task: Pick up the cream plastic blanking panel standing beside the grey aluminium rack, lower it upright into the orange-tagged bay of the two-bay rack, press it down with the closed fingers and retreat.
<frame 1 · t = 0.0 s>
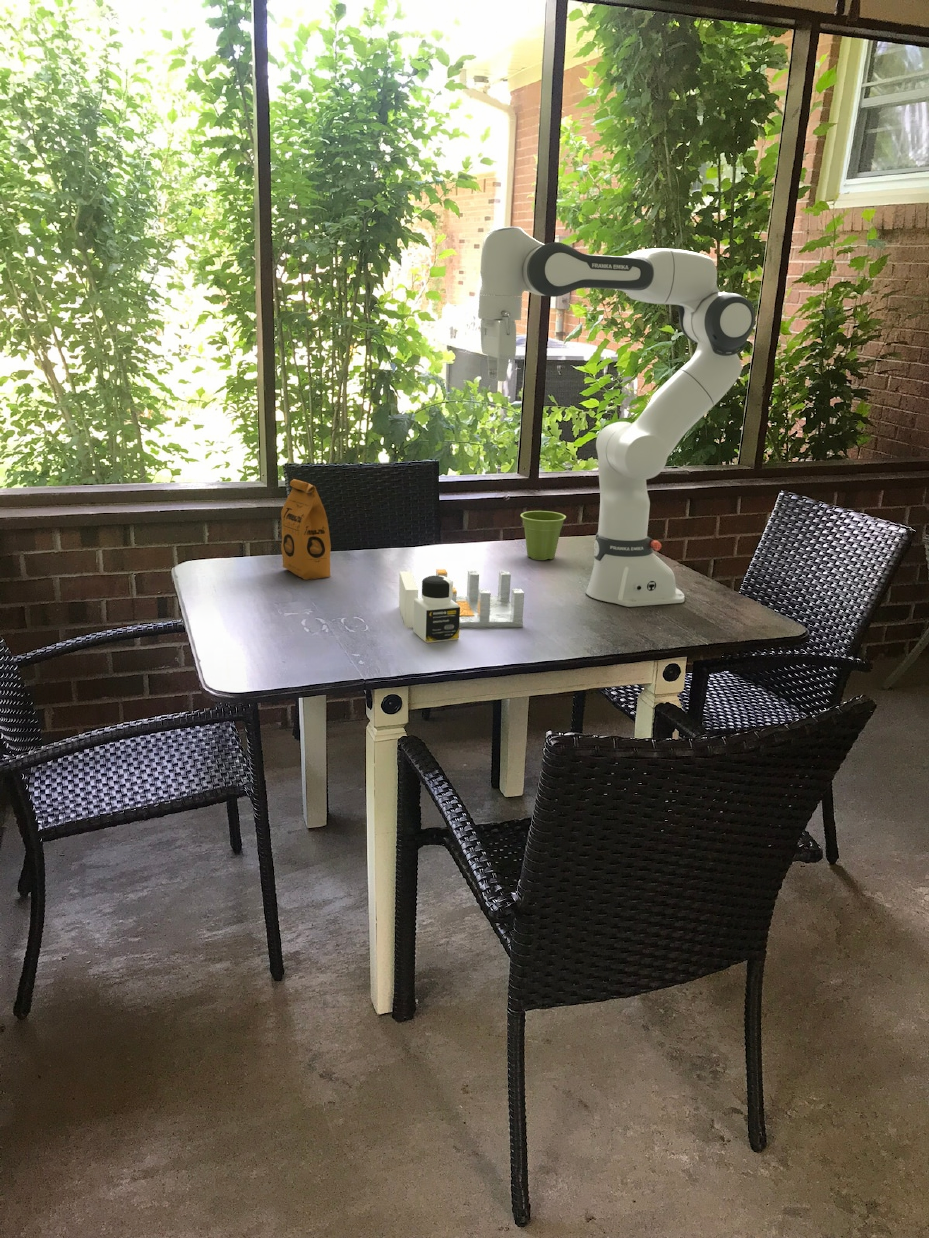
hand: (496, 379, 204), 48 cm above the table, tool pointing down, fingers open, 8 cm apart
medicine bottle: (435, 637, 192), on the table
coffee package: (306, 574, 231), on the table
blanking panel: (407, 617, 203), on the table
panel rack: (477, 614, 206), on the table
plant pot: (540, 558, 255), on the table
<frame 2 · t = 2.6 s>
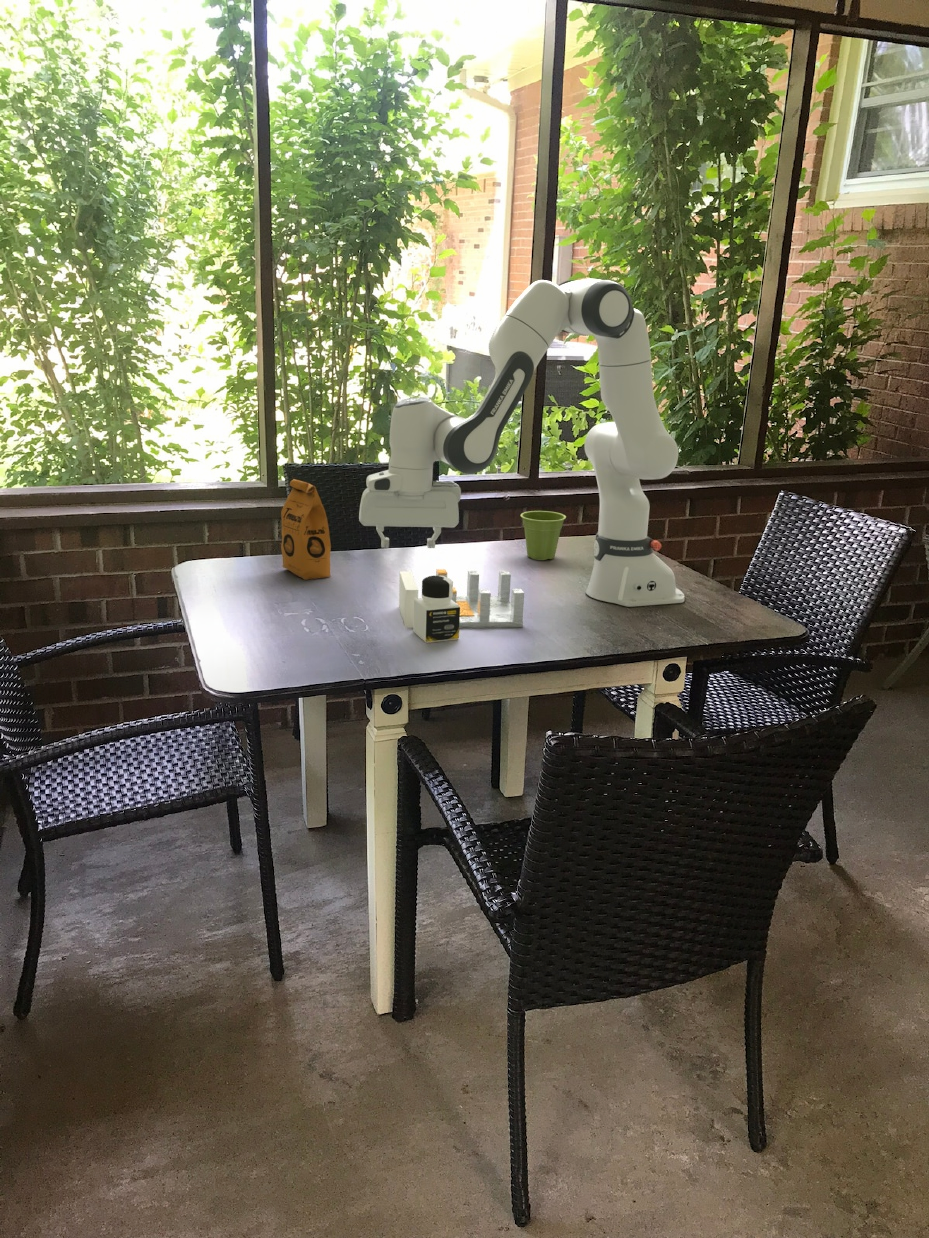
hand: (408, 547, 198), 15 cm above the table, tool pointing down, fingers open, 8 cm apart
nothing on the table moved.
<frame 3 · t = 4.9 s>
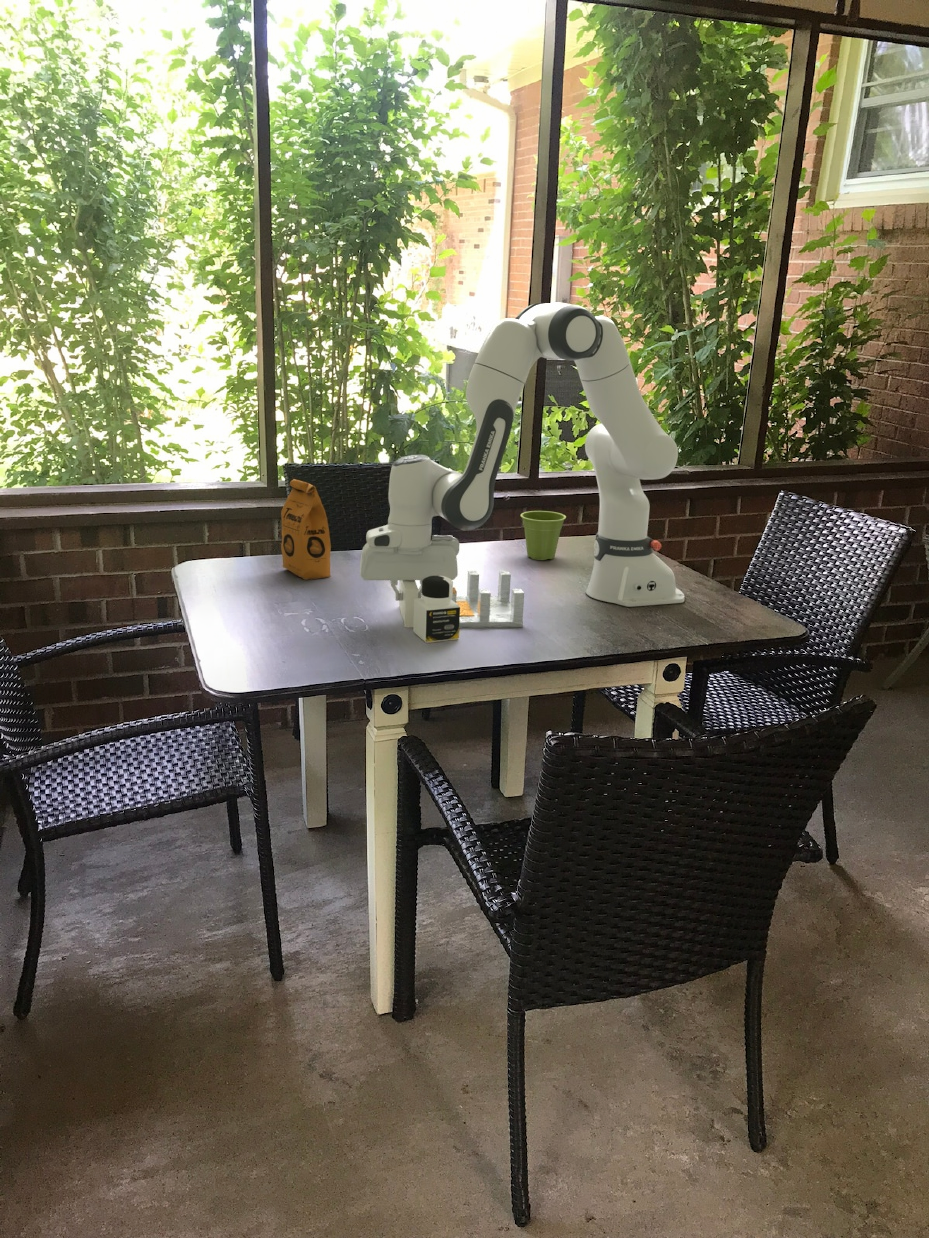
hand: (408, 599, 202), 4 cm above the table, tool pointing down, fingers closed on blanking panel, 2 cm apart
blanking panel: (407, 616, 203), on the table, touching gripper
everything else where it was.
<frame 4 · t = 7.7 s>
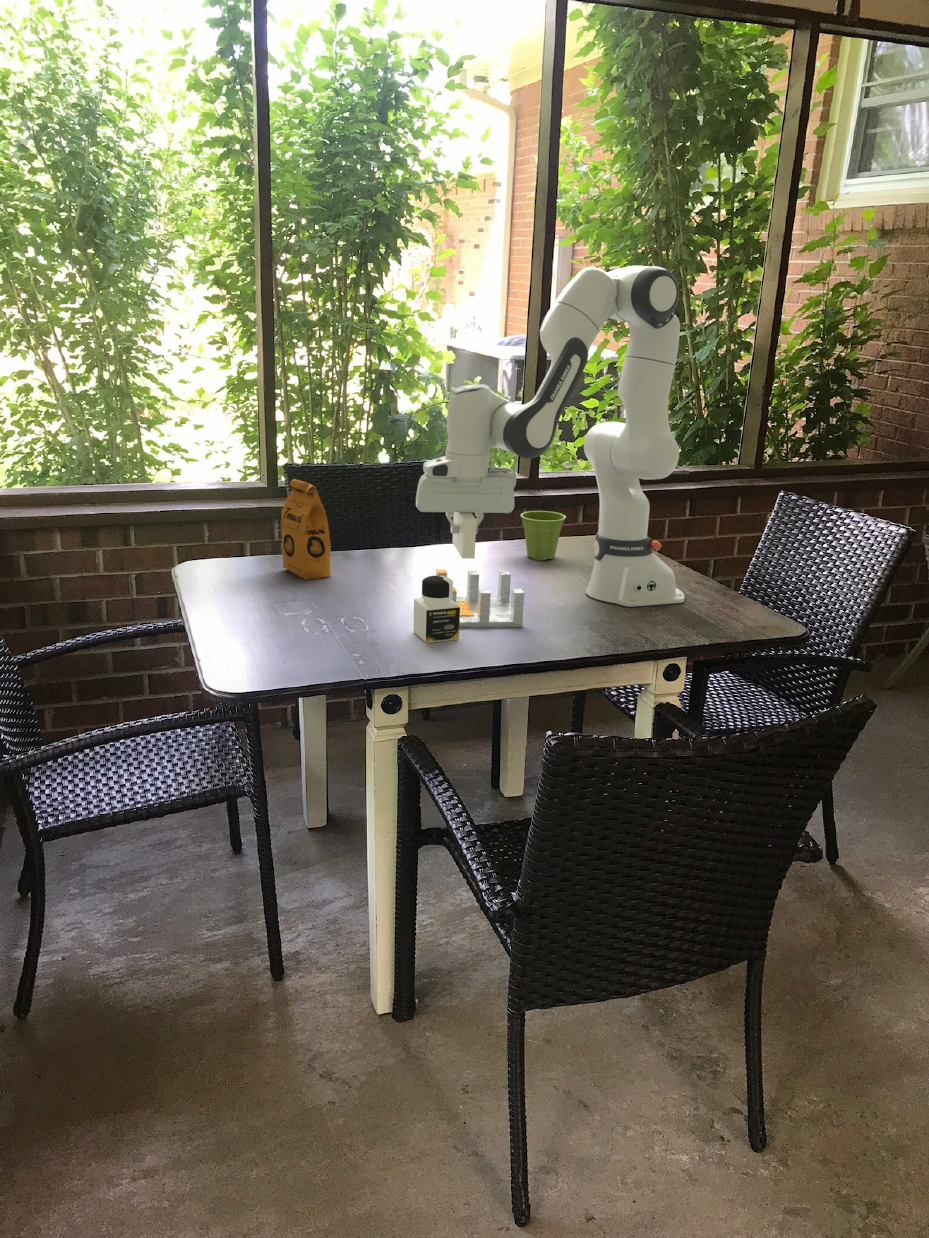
hand: (463, 533, 200), 18 cm above the table, tool pointing down, fingers closed on blanking panel, 2 cm apart
blanking panel: (463, 550, 201), point 14 cm above the table, touching gripper
everything else where it was.
when the fingers open (6 cm above the table, at t = 10.5 s): blanking panel drops 1 cm, resting on panel rack.
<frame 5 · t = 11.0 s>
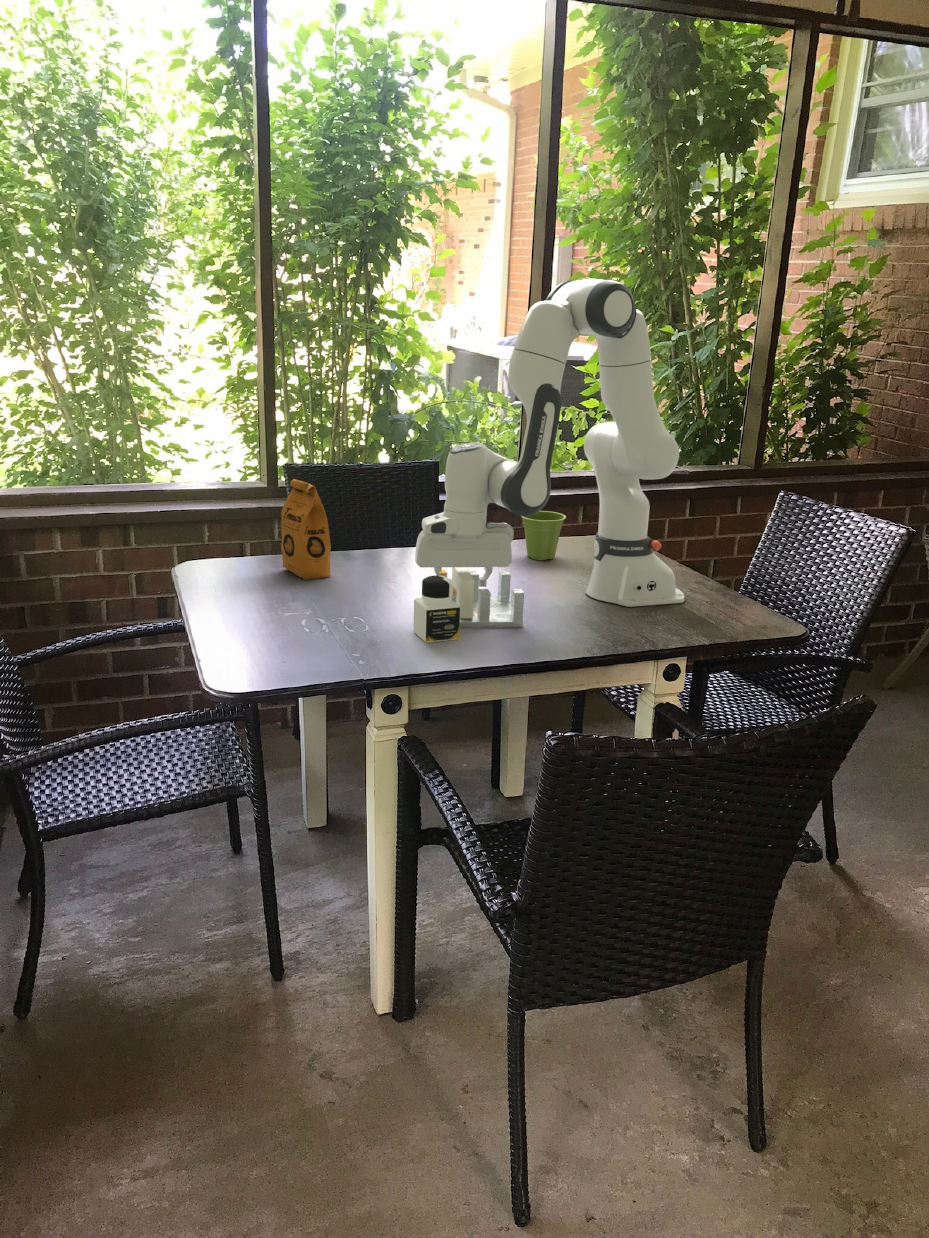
hand: (462, 586, 204), 6 cm above the table, tool pointing down, fingers open, 7 cm apart
blanking panel: (461, 608, 205), point 1 cm above the table, touching panel rack
everything else where it was.
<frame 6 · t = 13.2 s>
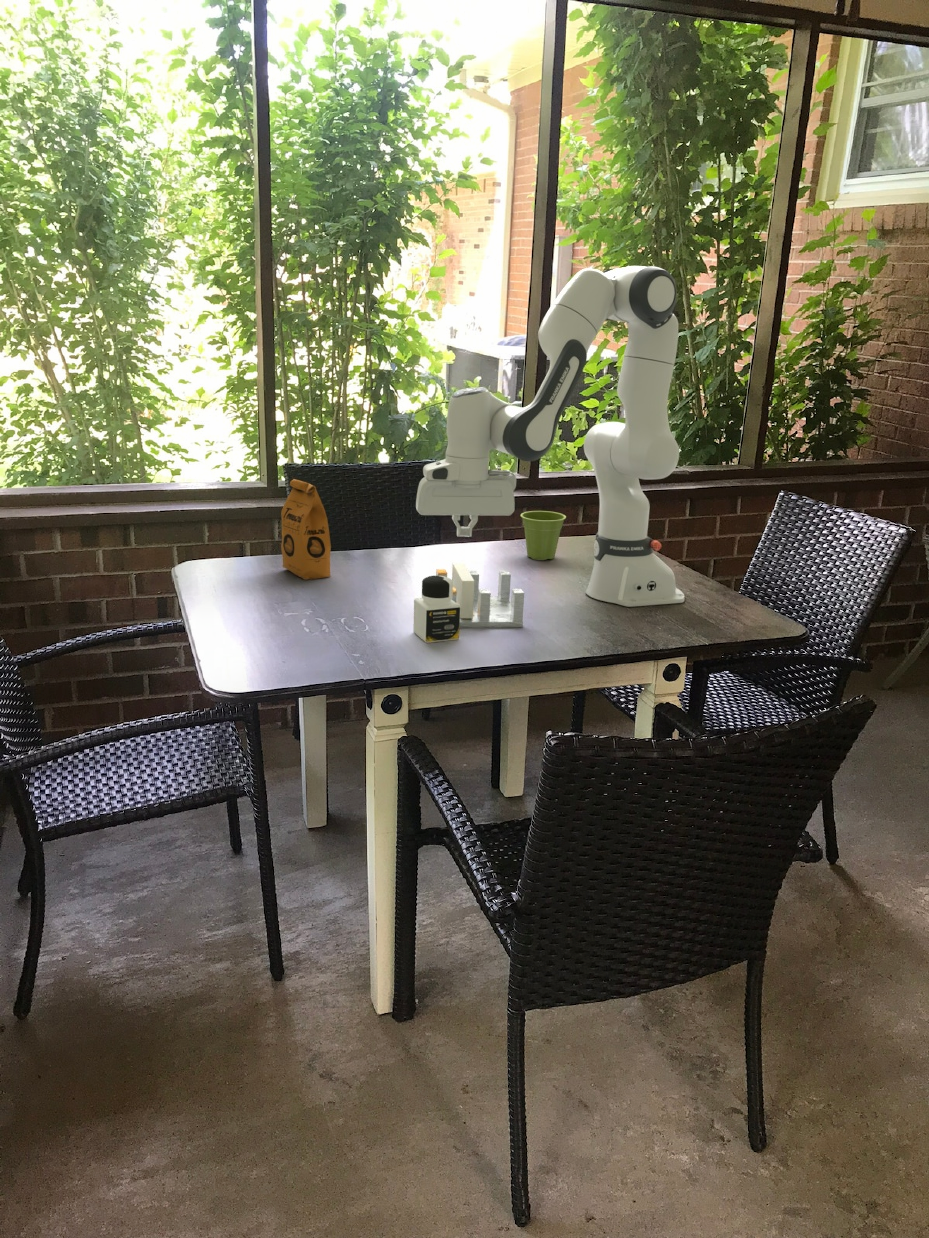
hand: (464, 535, 200), 17 cm above the table, tool pointing down, fingers closed
nothing on the table moved.
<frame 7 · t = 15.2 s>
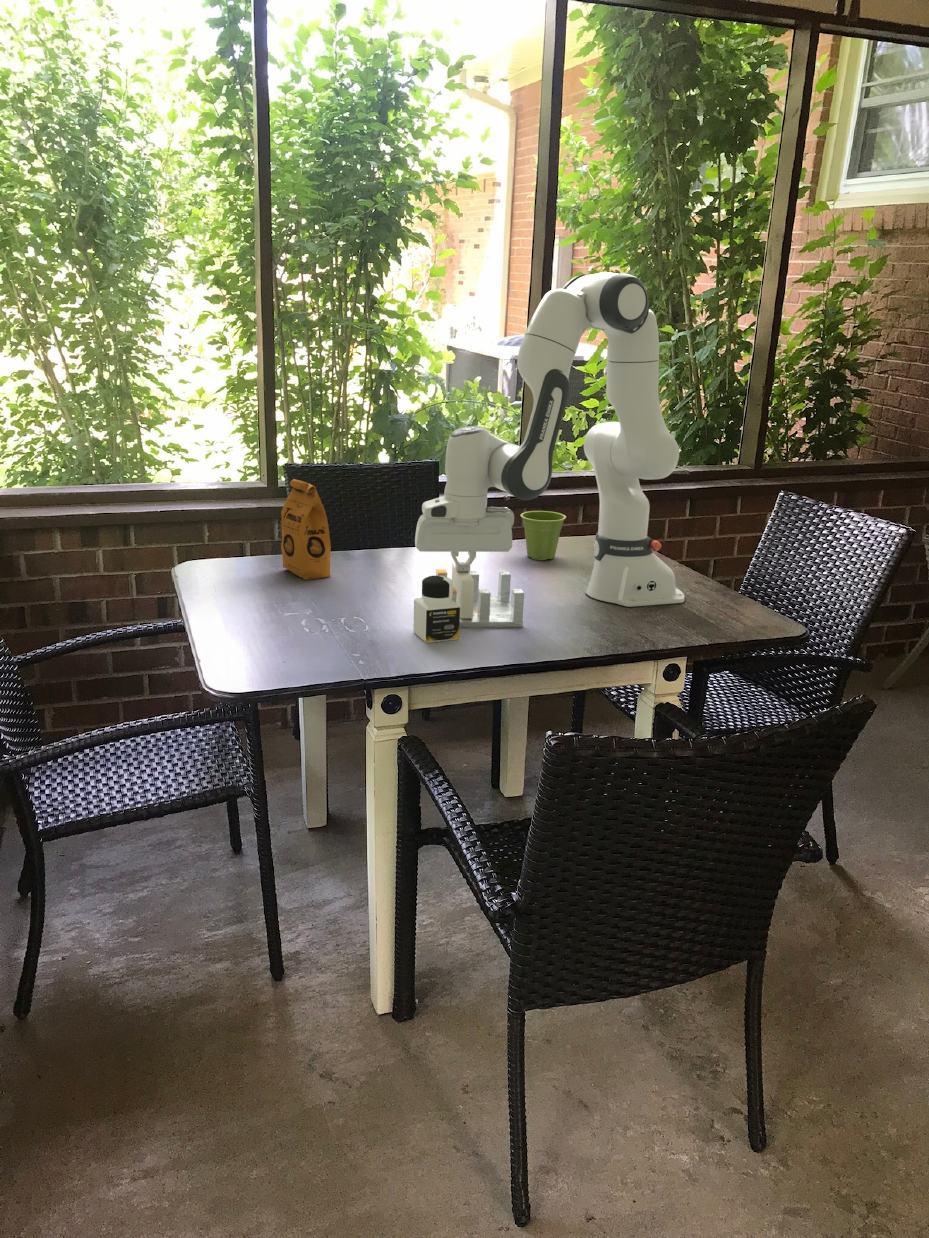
hand: (462, 571, 203), 9 cm above the table, tool pointing down, fingers closed, pressing on blanking panel
blanking panel: (461, 608, 205), point 1 cm above the table, touching gripper, panel rack
everything else where it was.
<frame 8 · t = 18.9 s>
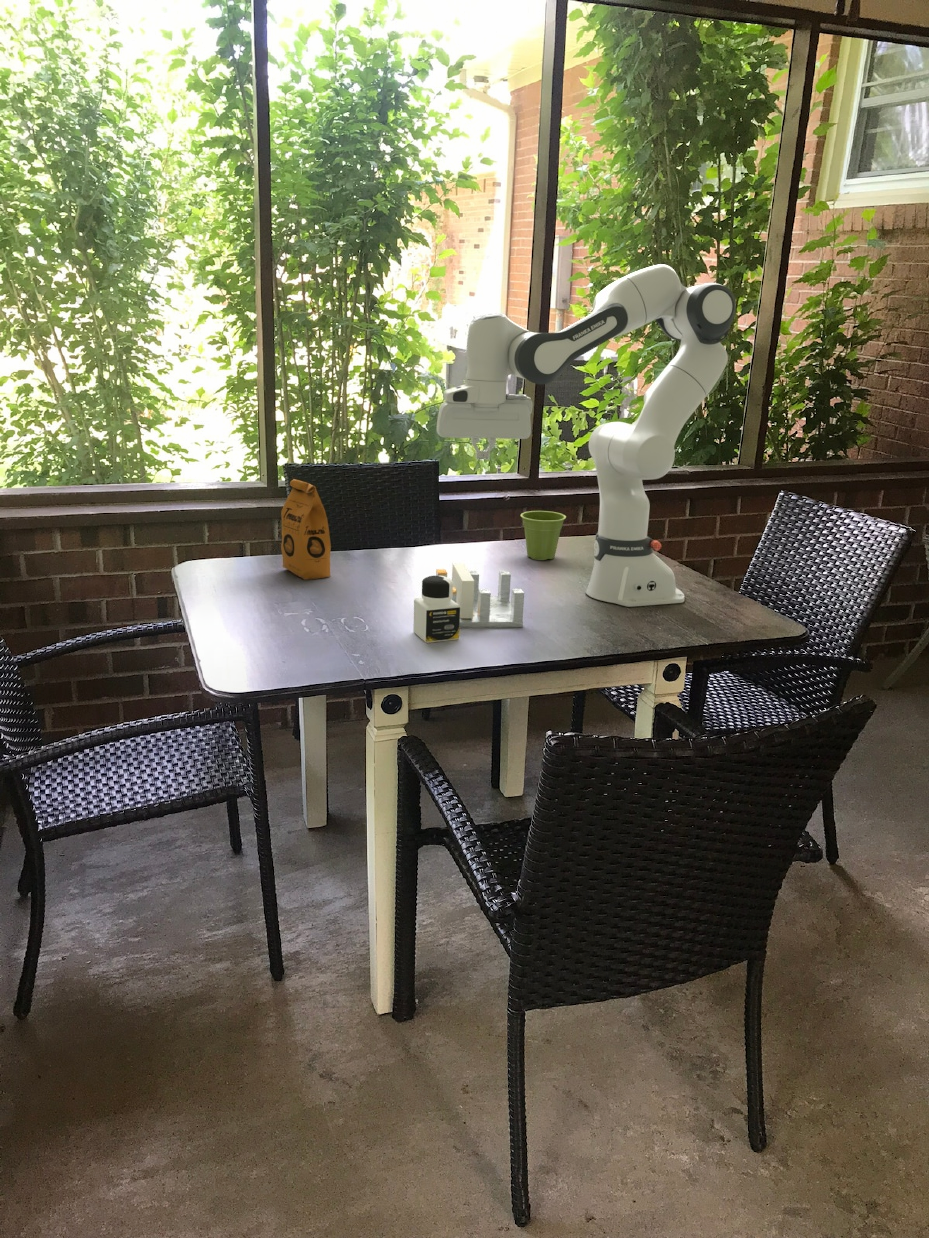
hand: (482, 459, 209), 31 cm above the table, tool pointing down, fingers closed
blanking panel: (461, 608, 205), point 1 cm above the table, touching panel rack
everything else where it was.
at the end: blanking panel 0.1 cm from the target spot on the panel rack, point 1.4 cm above the panel rack's base; blanking panel tilted 0°; the gripper is holding nothing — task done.
